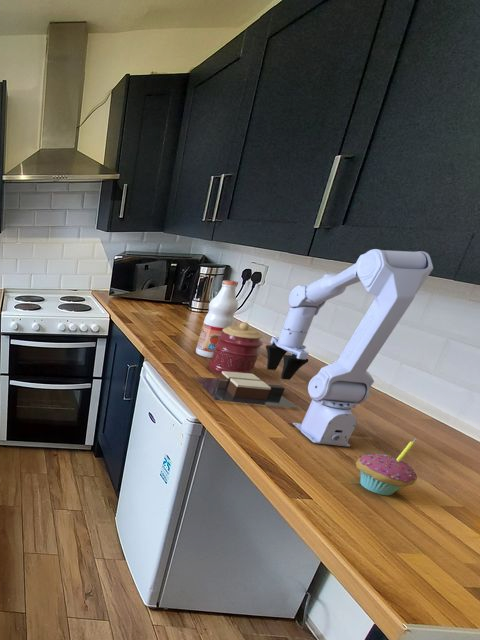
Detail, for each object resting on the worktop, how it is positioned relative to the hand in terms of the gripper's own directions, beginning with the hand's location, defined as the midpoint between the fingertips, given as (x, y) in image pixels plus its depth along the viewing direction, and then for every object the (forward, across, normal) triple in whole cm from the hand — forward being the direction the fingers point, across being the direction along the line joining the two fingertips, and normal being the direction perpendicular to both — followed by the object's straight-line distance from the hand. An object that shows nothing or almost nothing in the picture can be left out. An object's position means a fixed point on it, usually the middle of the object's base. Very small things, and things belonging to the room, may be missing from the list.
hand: (278, 374), depth 118 cm
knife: (+7, 0, +6) cm, 9 cm away
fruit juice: (+7, +36, +4) cm, 37 cm away
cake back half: (+6, +3, +8) cm, 11 cm away
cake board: (+7, 0, +8) cm, 11 cm away
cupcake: (+7, -45, +2) cm, 46 cm away
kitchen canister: (+7, +18, +4) cm, 20 cm away
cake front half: (+6, -3, +8) cm, 11 cm away
